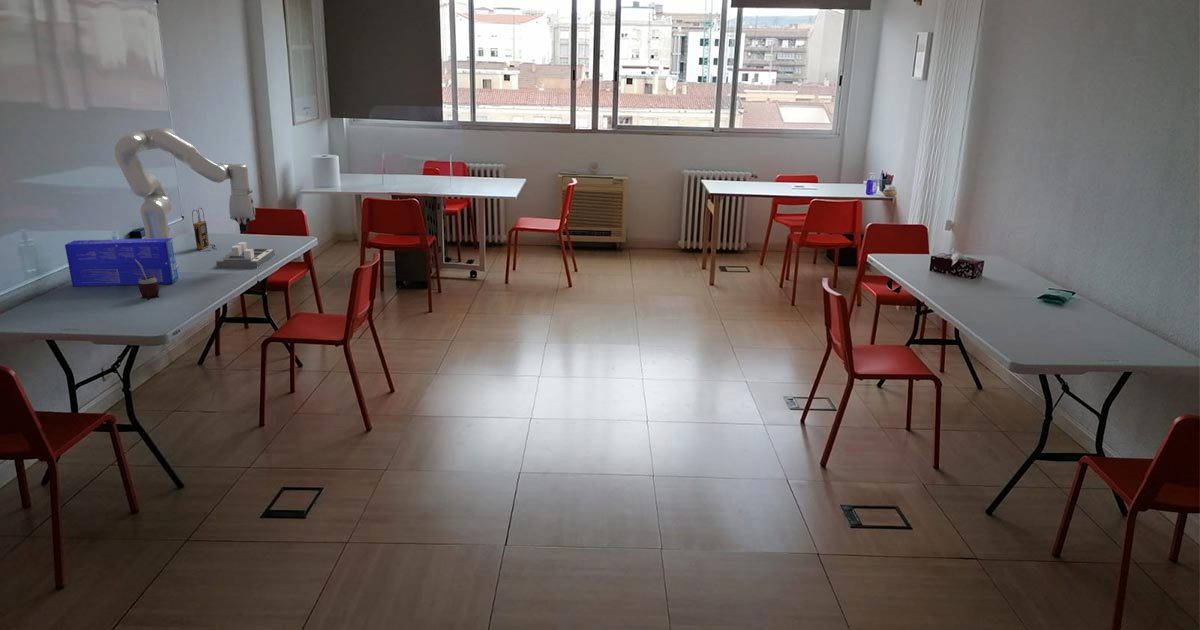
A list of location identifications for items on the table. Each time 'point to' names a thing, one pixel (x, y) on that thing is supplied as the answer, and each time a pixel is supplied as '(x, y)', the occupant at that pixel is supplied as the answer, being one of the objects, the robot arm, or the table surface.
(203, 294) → the table surface
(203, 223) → the multimeter
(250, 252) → the tab
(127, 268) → the toner cartridge box
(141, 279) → the mate gourd
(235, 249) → the tab middle
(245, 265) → the switch bank
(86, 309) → the table surface
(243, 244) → the tab
